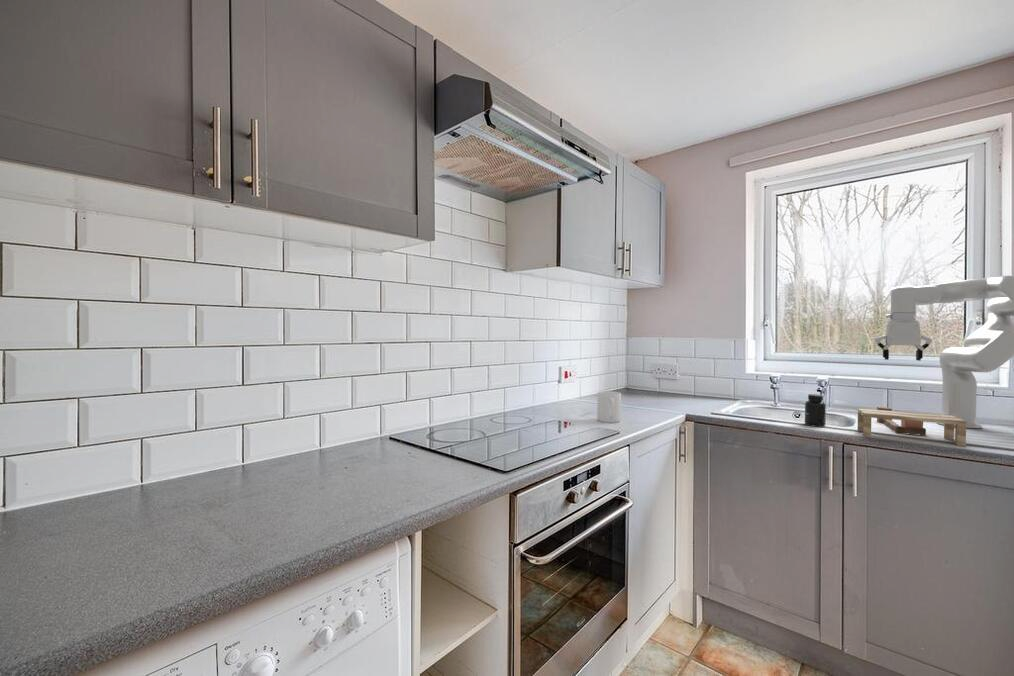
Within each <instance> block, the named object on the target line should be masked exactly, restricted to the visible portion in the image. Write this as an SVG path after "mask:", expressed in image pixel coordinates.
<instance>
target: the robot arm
mask: <svg viewBox="0 0 1014 676" xmlns="http://www.w3.org/2000/svg"><path fill="white" fill-rule="evenodd" d="M890 290H891V291H890V313H889V314H885V318H886V319H889V320H888V321H887V324H886V325H887V326H886V331H885V334H883V335H882V336H878V337H877V338H874V342H875V343H876V345H877V346H878V347H879V348H881V350H882V358H884V360H886V361H887V360H889V359H890V349H889V348H890V347H891V346H909V347H911V346H912V347H914V348H916V350H915V360H916V361H917V362H919V361H921V359H923V351H924V350H926V349H927V348H928V347H929V346H930V345H931V343H932V342H933V339H932V338H929V337H927V336H924V335H922V333H921V325H920V320H917V306H928V305H933V304H952V303H954V304H955V303H963V302H971V301H979V300H989V301H988V302H987V303H986V314H987V321H986V322H985V323H984V324H983V325H981V326H980V327H979V328H977V329H976V330H975V331H974V332H971V334H970V335H968V336H967V337H966V338H965V339H964V341H963V346H952V347H948V348H945V349H944V350H942V352H941V353H940V354H939V364H940V368H941V371H942V372H941V373H942V374H941V375H942V389H941V390H942V395H941V396H942V397H941V415H952V416H955V417H957V418H959V419H962V420H964V421H966V429H981V428H982V426H983V425H982V424H980V423H978V422H977V389H978V387H977V386H978V385H977V384H978V383H977V380H976V377H975V375H974V373H992V372H993V371H996V370H997V369H999V368H1000V367H1001V366H1003V365H1004V364H1006V362H1008V361H1010V360H1011V359H1012V358H1013V357H1014V322H1013V318H1012V317H1013V316H1014V276H1013V275H1001V276H991V277H983V278H973V279H972V278H971V279H964V280H954V281H947V282H941V283H937V284H929V285H921V286H919V285H918V286H912V285H910V286H909V285H907V286H906V285H905V286H904V285H903V286H895V287H892V289H890ZM882 340H885V344H883V343H882V342H881V341H882ZM922 340H923V341H924V342H925V343H923V344H921V343H922ZM937 424H938V425H941V426H944V423H937ZM954 428H955V424H954Z"/></svg>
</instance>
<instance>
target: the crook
mask: <svg viewBox="0 0 1014 676" xmlns="http://www.w3.org/2000/svg"><path fill="white" fill-rule="evenodd" d="M876 410H884V411H893V409H892V407H886V406H876ZM876 422H878V423H881V424H884V425H885V426H886V427H887V428H889V429H890V430H892V431H893V432H894V431H895V432H894V433H896V434H900V433H909V434H908V435H911V434H920V435H919V436H922V435H926V436H927V429H926V428H925V427H923V428H919V427H907V426H901V425H900V424H898V423H897V422H895V421H893V419H885V418H876Z"/></svg>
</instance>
